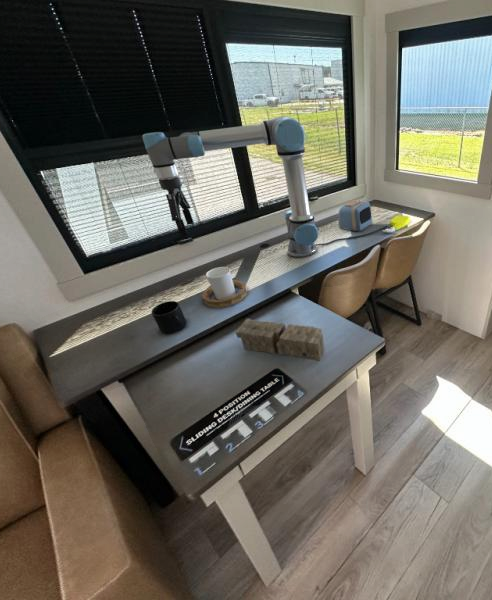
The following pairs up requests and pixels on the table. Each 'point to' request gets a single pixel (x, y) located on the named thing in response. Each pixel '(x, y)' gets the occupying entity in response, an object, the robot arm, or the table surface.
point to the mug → (169, 317)
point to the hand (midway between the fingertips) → (187, 229)
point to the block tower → (282, 339)
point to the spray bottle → (398, 223)
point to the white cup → (221, 282)
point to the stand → (227, 301)
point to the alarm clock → (355, 215)
